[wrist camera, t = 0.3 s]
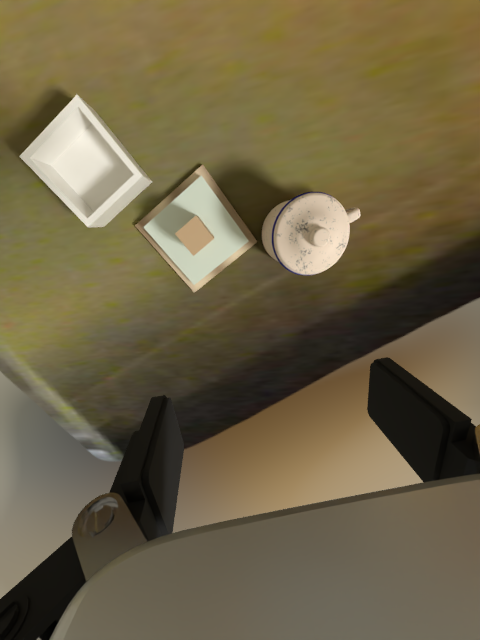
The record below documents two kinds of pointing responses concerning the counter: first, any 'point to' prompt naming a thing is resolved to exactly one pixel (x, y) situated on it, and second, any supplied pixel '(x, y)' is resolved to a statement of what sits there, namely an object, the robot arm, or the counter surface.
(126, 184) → the white open square tray
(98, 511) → the robot arm
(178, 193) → the mat
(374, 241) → the counter surface
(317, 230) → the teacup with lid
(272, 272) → the counter surface
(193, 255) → the lid
